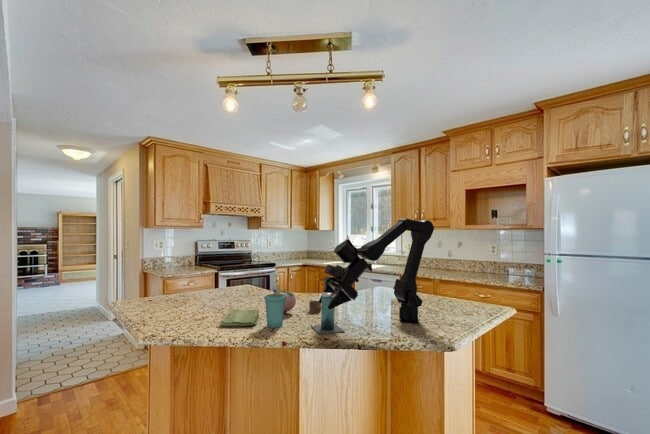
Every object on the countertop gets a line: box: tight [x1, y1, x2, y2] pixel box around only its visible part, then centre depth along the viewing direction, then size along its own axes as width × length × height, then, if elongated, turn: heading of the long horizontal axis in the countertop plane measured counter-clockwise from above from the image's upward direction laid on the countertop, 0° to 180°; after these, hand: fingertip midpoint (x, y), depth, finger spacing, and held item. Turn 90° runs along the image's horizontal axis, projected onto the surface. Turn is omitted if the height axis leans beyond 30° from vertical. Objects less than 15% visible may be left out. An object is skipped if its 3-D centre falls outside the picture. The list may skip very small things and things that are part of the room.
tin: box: [320, 292, 336, 330], centre depth 113 cm, size 5×5×12 cm
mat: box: [311, 323, 345, 336], centre depth 112 cm, size 9×9×1 cm
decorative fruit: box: [280, 289, 297, 314], centre depth 134 cm, size 9×8×10 cm
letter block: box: [309, 298, 322, 313], centre depth 139 cm, size 4×4×5 cm
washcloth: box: [219, 308, 260, 328], centre depth 123 cm, size 13×18×3 cm
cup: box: [263, 283, 286, 329], centre depth 116 cm, size 14×8×15 cm, turn 7°
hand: (323, 305), depth 112 cm, fingers open, 9 cm apart
